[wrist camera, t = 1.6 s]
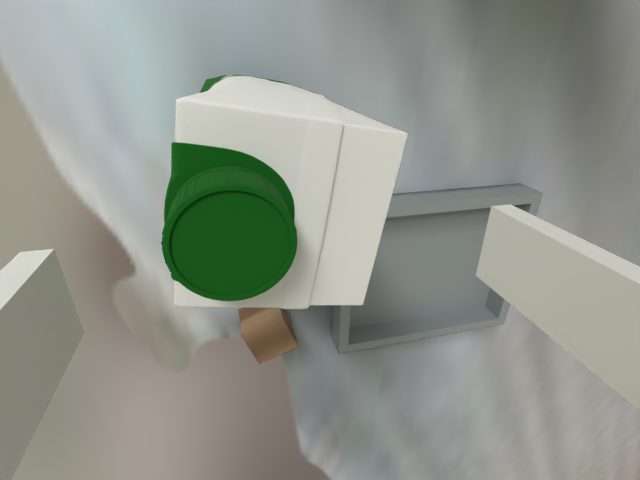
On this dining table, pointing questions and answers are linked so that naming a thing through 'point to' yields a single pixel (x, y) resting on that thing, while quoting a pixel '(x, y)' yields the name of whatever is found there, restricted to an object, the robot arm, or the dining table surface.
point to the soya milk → (275, 197)
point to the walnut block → (267, 332)
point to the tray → (429, 269)
